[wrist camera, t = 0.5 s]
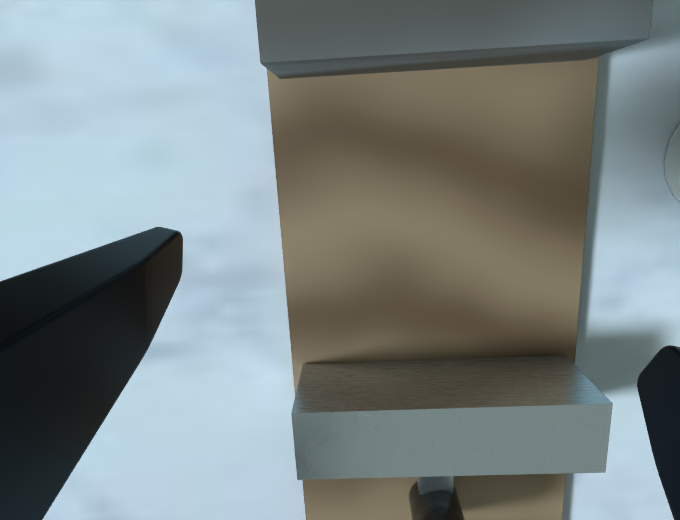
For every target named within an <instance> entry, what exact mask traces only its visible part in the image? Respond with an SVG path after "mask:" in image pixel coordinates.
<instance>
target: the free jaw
mask: <svg viewBox="0 0 680 520" xmlns="http://www.w3.org/2000/svg"><path fill="white" fill-rule="evenodd" d="M612 404H613V403H612V402H611V401H610V400H609V399H608V398H607V397H606V396H605V395H604V394H603V393H602V392H601V391H600V390H599V389H598V388H597V387H596V386H595V385H594V384H593V383H592V382H591V381H590V380H589V379H588V378H587V377H586V376H585V375H584V374H583V373H582V372H581V371H580V370H579V369H578V368H577V367H576V366H575V365H574V364H573V363H572V362H571V361H570V360H569V359H568V358H567V357H566V355H552V356H523V357H494V358H466V359H437V360H408V361H379V362H351V363H322V364H303V366H302V370H301V374H300V379H299V383H298V387H297V392H296V396H295V400H294V405H293V409H292V424H293V435H294V446H295V457H296V468H297V479H298V480H308V479H350V478H392V477H417V482H416V483H415V484H414V485H413V486H412V487H411V489H410V492H409V502H410V508H411V515H412V520H465V519H464V515H463V512H462V508H461V505H460V501H459V498H458V495H457V491H456V488H455V487H454V485H453V476H475V475H517V474H559V473H601V472H605V471H606V461H607V452H608V442H609V433H610V423H611V414H612Z"/></svg>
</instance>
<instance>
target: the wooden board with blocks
mask: <svg viewBox="0 0 680 520" xmlns="http://www.w3.org/2000/svg"><path fill="white" fill-rule="evenodd" d="M652 5H653V0H255V7H256V18H257V29H258V40H259V51H260V62H261V64H262V65H264V66H265V67H266V68H267V76H268V87H269V99H270V111H271V122H272V134H273V145H274V157H275V168H276V180H277V191H278V203H279V214H280V226H281V237H282V249H283V260H284V272H285V283H286V295H287V306H288V318H289V329H290V341H291V352H292V364H293V375H294V387H295V396H296V392H297V387H298V383H299V379H300V374H301V370H302V366H303V364H322V363H351V362H379V361H408V360H437V359H466V358H494V357H523V356H552V355H566V357H567V358H568V359H569V360H570V361H571V362H572V363H573V364H574V363H575V351H576V338H577V326H578V313H579V301H580V288H581V276H582V263H583V251H584V238H585V226H586V213H587V201H588V188H589V176H590V163H591V151H592V138H593V126H594V113H595V101H596V88H597V76H598V63H599V56H600V55H602V54H605V53H608V52H611V51H614V50H617V49H620V48H623V47H626V46H628V45H631V44H634V43H637V42H640V41H643V40H646V39H649V34H650V24H651V15H652ZM565 475H566V473H559V474H517V475H475V476H453V485H454V487H455V488H456V491H457V495H458V498H459V501H460V505H461V508H462V512H463V515H464V519H465V520H562V513H563V500H564V488H565ZM416 482H417V477H392V478H350V479H308V480H303V490H304V502H305V513H306V520H412V515H411V508H410V502H409V492H410V489H411V487H412V486H413V485H414V484H415V483H416Z"/></svg>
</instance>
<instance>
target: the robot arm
mask: <svg viewBox="0 0 680 520" xmlns="http://www.w3.org/2000/svg"><path fill="white" fill-rule="evenodd" d="M182 258H183V237H182V234H181V233H180V232H179V231H176V230H172V229H168V228H163V227H155V228H152V229H150V230H147V231H144V232H141V233H138V234H135V235H132V236H130V237H127V238H124V239H121V240H118V241H115V242H112V243H109V244H107V245H104V246H101V247H98V248H95V249H92V250H89V251H86V252H84V253H81V254H78V255H75V256H72V257H69V258H66V259H63V260H61V261H58V262H55V263H52V264H49V265H46V266H43V267H40V268H37V269H35V270H32V271H29V272H26V273H23V274H20V275H17V276H14V277H12V278H9V279H6V280H3V281H0V520H42V519H43V518H44V516H45V514H46V513H47V511H48V510H49V508H50V506H51V505H52V503H53V502H54V500H55V498H56V497H57V495H58V494H59V492H60V490H61V489H62V487H63V486H64V484H65V482H66V481H67V479H68V477H69V476H70V474H71V473H72V471H73V469H74V468H75V466H76V465H77V463H78V461H79V460H80V458H81V457H82V455H83V453H84V452H85V450H86V449H87V447H88V445H89V444H90V442H91V440H92V439H93V437H94V436H95V434H96V432H97V431H98V429H99V428H100V426H101V424H102V423H103V421H104V420H105V418H106V416H107V415H108V413H109V412H110V410H111V408H112V407H113V405H114V404H115V402H116V400H117V399H118V397H119V395H120V394H121V392H122V391H123V389H124V387H125V386H126V384H127V383H128V381H129V379H130V378H131V376H132V375H133V373H134V371H135V370H136V368H137V367H138V365H139V363H140V362H141V360H142V358H143V357H144V355H145V353H146V351H147V350H148V348H149V346H150V344H151V342H152V340H153V337H154V335H155V333H156V331H157V329H158V327H159V324H160V322H161V320H162V318H163V316H164V314H165V312H166V309H167V307H168V305H169V303H170V301H171V299H172V296H173V294H174V292H175V290H176V288H177V286H178V283H179V281H180V278H181V274H182ZM637 387H638V392H639V396H640V401H641V405H642V409H643V414H644V418H645V422H646V426H647V431H648V435H649V439H650V444H651V448H652V452H653V456H654V460H655V464H656V467H657V470H658V473H659V476H660V479H661V482H662V485H663V488H664V491H665V494H666V497H667V500H668V503H669V506H670V509H671V512H672V515H673V518H674V520H680V347H676V346H671V345H670V346H665V347H663V348H662V349H661V350H660V351H659V352H658V353H657V354H656V355H655V357H654V358H653V359H652V360H651V361H650V363H649V364H648V365H647V366H646V367H645V369H644V370H643V371H642V372H641V374H640V375H639V378H638V382H637Z"/></svg>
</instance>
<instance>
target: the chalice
mask: <svg viewBox="0 0 680 520" xmlns="http://www.w3.org/2000/svg"><path fill="white" fill-rule="evenodd" d="M664 164H665V178H666V181H667V183H668V185H669V188H670V190H671V192H672V195H673V196H674V197H675V198H676V199H677V200H678V201H679V202H680V123H679V124H678V126H677V128H676V130H675V131H674V133H673V135H672V137H671V138H670V140H669V143H668V147H667V151H666V155H665V159H664Z"/></svg>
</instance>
